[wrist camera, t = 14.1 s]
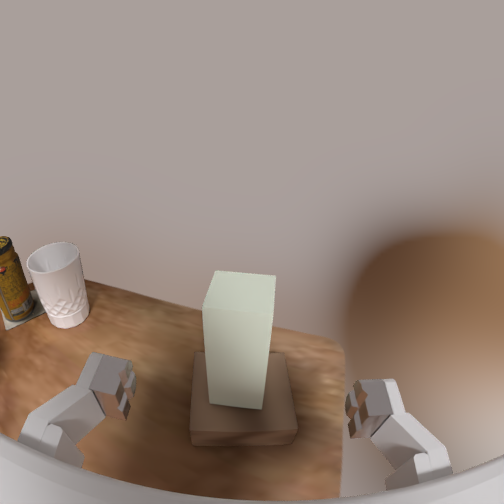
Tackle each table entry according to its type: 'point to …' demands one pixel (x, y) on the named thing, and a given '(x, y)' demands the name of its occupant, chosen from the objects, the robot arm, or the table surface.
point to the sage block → (238, 337)
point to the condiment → (15, 289)
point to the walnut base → (244, 411)
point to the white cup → (60, 283)
